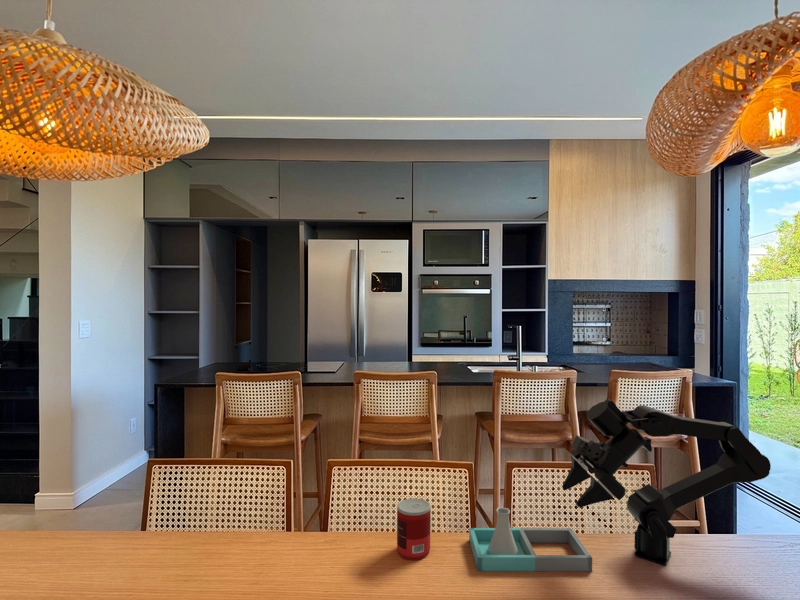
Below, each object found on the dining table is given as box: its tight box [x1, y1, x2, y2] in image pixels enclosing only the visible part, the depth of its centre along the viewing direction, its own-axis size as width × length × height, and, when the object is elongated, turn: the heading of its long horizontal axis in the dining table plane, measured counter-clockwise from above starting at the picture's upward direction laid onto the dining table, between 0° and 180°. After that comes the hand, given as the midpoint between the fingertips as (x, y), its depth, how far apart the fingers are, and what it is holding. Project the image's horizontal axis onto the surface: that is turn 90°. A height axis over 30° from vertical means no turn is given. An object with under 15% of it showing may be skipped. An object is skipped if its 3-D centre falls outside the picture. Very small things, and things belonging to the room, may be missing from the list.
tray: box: [468, 527, 593, 572], centre depth 112 cm, size 25×13×3 cm, turn 90°
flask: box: [487, 507, 519, 555], centre depth 112 cm, size 7×7×10 cm
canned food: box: [396, 498, 432, 561], centre depth 113 cm, size 8×8×11 cm
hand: (570, 496), depth 112 cm, fingers open, 9 cm apart
